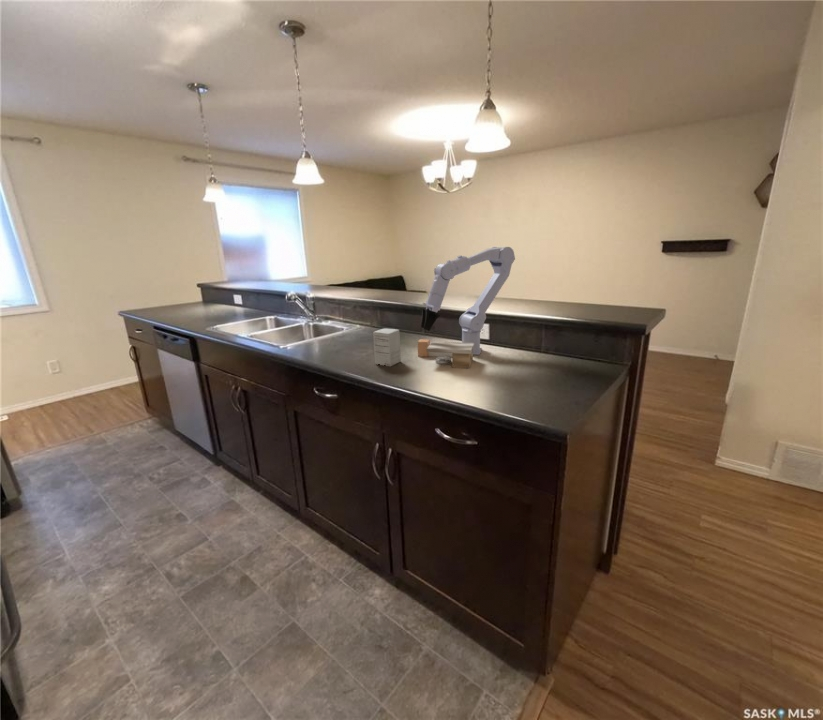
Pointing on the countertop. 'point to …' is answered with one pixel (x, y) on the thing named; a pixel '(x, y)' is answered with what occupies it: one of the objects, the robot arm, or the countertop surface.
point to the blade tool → (422, 348)
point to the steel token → (443, 360)
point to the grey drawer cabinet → (387, 346)
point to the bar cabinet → (455, 352)
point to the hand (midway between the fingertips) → (424, 329)
